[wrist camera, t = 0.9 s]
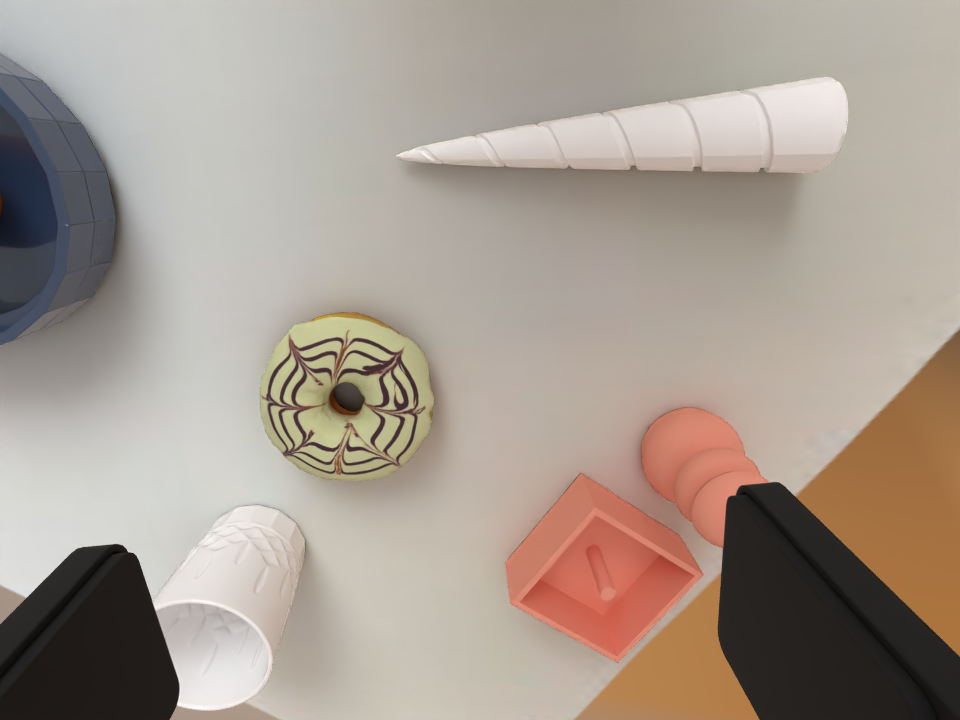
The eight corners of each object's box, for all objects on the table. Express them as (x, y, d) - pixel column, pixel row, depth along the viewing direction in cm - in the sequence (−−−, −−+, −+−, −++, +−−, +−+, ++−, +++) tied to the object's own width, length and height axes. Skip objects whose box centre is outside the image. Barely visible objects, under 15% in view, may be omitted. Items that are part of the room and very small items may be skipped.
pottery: (603, 618, 44) (642, 738, 35) (505, 562, 42) (519, 674, 33) (764, 446, 40) (858, 531, 31) (664, 374, 38) (732, 442, 29)
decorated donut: (441, 316, 36) (440, 332, 32) (427, 466, 39) (424, 495, 36) (273, 299, 35) (252, 314, 32) (273, 453, 38) (255, 483, 35)
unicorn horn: (392, 84, 32) (382, 70, 27) (811, 85, 32) (869, 72, 28) (397, 174, 33) (388, 175, 28) (796, 172, 34) (849, 173, 29)
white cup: (192, 573, 41) (114, 693, 32) (214, 483, 39) (138, 584, 30) (299, 599, 43) (254, 723, 33) (326, 514, 40) (287, 621, 31)
